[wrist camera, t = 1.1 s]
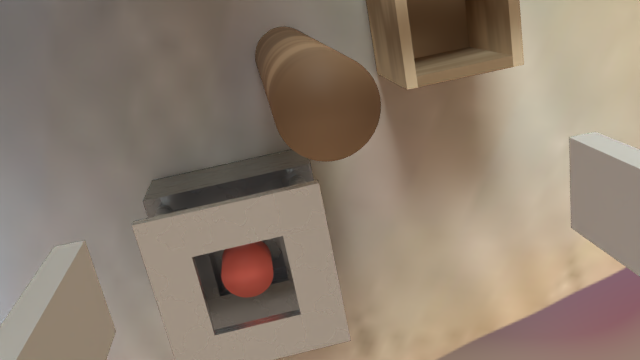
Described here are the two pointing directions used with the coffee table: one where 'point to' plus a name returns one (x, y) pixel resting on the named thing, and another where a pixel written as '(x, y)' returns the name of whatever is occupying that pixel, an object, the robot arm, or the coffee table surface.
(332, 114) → the brown wooden rod
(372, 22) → the pen cup
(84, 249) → the robot arm
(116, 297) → the coffee table surface
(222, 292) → the grey button box
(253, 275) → the breaker button
